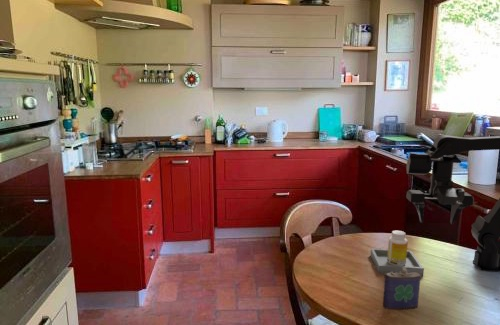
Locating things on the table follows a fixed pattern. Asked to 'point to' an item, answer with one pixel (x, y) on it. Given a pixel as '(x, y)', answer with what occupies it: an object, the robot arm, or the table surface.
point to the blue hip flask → (401, 290)
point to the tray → (384, 267)
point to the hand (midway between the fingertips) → (436, 223)
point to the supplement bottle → (397, 248)
